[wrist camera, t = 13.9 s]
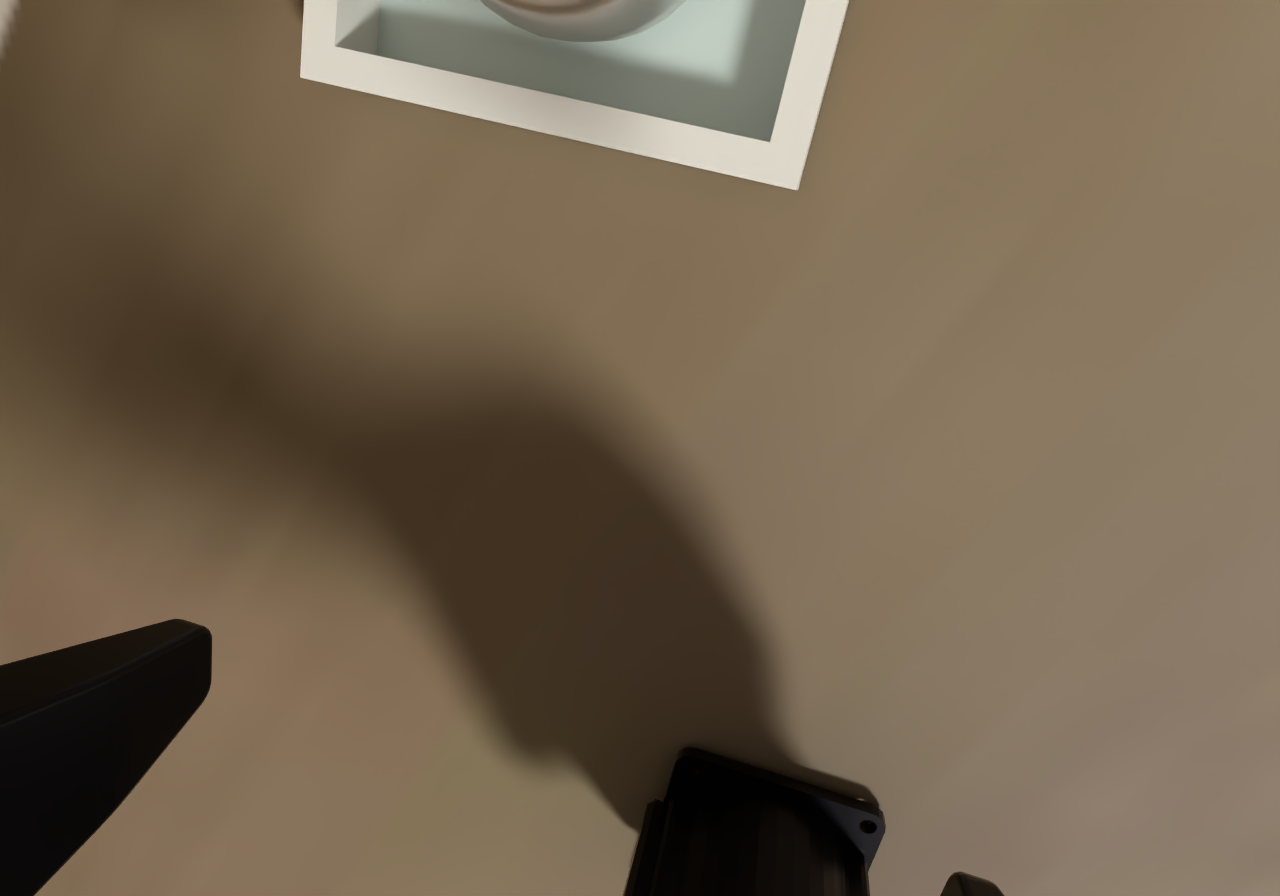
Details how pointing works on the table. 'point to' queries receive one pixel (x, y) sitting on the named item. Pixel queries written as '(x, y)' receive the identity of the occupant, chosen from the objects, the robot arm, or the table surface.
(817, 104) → the tray
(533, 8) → the plastic bottle
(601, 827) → the table surface
